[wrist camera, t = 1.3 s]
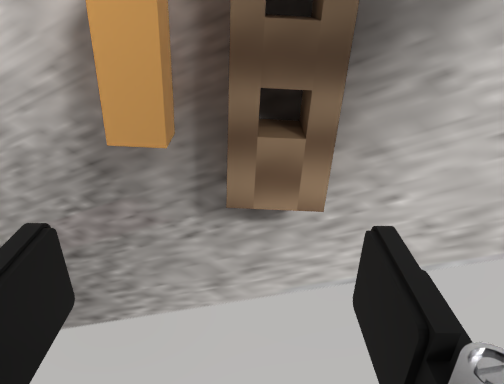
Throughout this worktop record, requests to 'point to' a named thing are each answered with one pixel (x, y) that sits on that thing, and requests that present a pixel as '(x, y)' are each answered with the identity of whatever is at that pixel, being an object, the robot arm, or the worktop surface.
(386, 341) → the robot arm
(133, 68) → the orange block
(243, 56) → the rail
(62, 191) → the worktop surface
